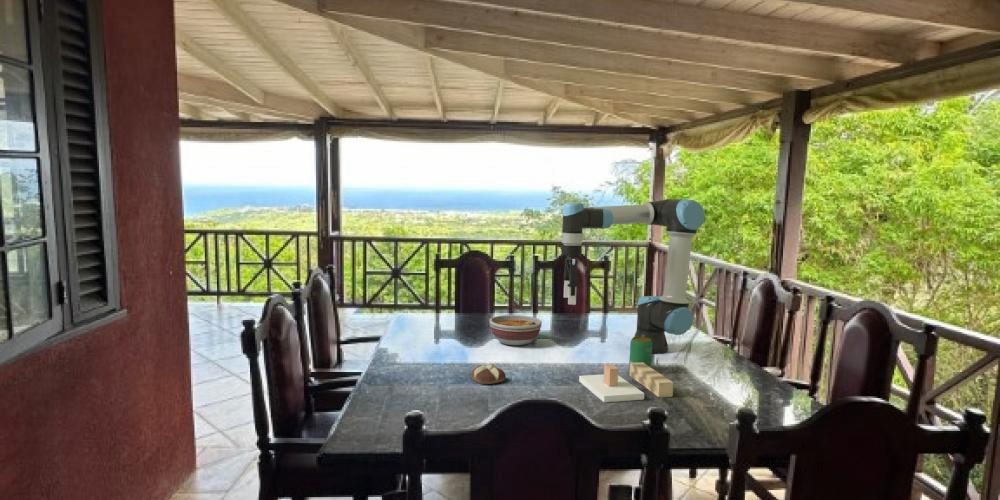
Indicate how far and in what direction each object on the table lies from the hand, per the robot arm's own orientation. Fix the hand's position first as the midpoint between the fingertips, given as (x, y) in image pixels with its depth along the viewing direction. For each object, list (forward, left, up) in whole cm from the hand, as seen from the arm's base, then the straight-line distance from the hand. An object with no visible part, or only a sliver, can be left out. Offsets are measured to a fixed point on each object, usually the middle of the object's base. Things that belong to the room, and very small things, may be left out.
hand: (569, 300), depth 205 cm
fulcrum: (-5, +26, -25) cm, 37 cm away
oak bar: (-21, +24, -26) cm, 41 cm away
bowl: (+10, -37, -26) cm, 46 cm away
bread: (+33, +9, -26) cm, 43 cm away
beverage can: (-26, +8, -26) cm, 38 cm away
